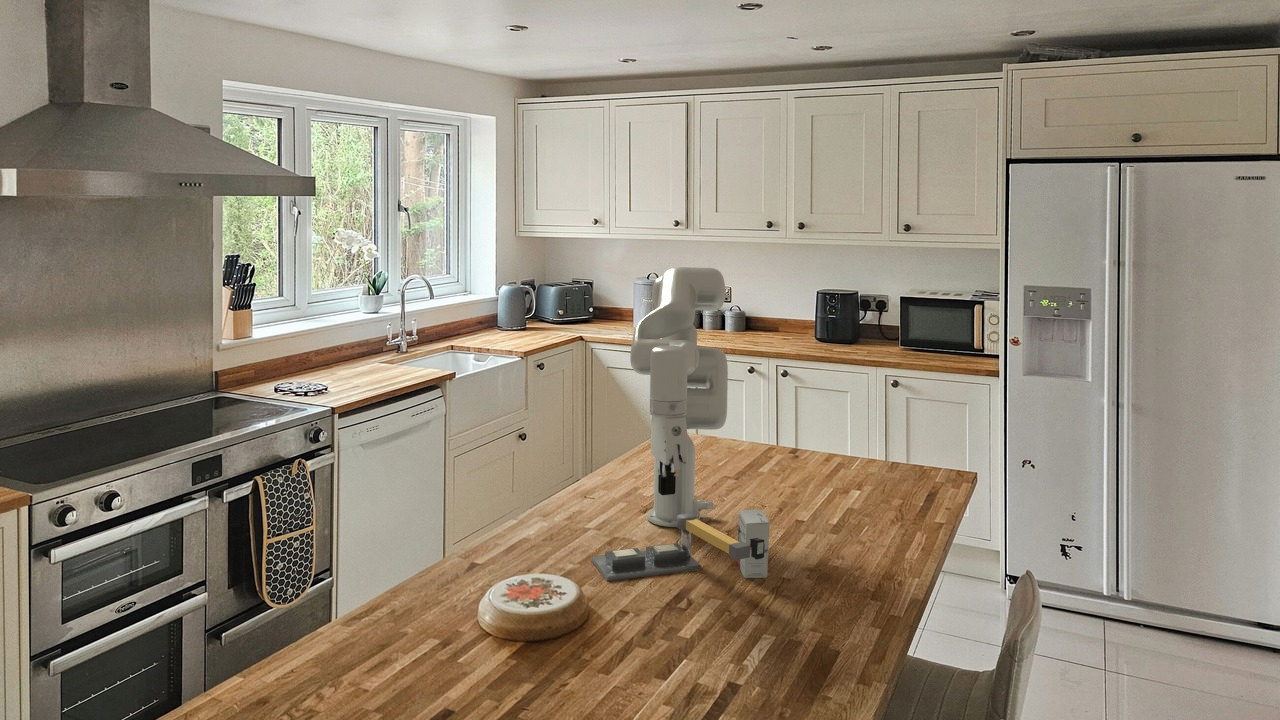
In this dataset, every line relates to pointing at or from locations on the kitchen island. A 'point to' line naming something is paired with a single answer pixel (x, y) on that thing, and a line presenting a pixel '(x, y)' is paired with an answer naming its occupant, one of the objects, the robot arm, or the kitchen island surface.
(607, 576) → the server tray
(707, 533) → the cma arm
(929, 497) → the kitchen island surface
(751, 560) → the ink box
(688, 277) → the robot arm
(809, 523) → the kitchen island surface
